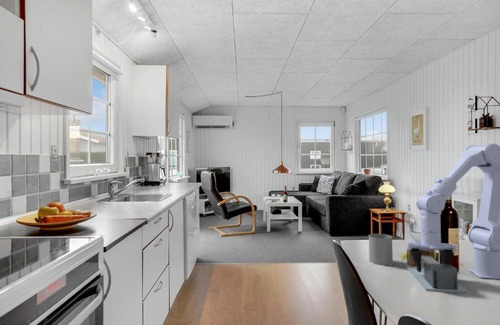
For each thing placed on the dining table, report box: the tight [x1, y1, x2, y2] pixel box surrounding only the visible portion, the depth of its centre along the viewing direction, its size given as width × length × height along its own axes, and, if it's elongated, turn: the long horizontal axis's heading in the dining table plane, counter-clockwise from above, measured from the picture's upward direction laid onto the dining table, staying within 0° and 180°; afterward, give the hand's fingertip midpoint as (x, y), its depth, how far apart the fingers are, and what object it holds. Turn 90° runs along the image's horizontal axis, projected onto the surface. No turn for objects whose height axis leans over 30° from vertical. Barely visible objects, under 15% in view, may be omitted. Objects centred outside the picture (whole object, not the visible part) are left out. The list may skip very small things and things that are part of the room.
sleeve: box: [424, 262, 459, 290], centre depth 98 cm, size 6×8×6 cm
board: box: [402, 262, 468, 294], centre depth 106 cm, size 11×25×1 cm, turn 168°
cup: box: [368, 233, 394, 266], centre depth 123 cm, size 8×8×10 cm
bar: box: [421, 255, 441, 272], centre depth 104 cm, size 4×17×5 cm, turn 168°
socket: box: [406, 248, 436, 266], centre depth 116 cm, size 8×4×6 cm, turn 78°
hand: (431, 271), depth 105 cm, fingers open, 7 cm apart
